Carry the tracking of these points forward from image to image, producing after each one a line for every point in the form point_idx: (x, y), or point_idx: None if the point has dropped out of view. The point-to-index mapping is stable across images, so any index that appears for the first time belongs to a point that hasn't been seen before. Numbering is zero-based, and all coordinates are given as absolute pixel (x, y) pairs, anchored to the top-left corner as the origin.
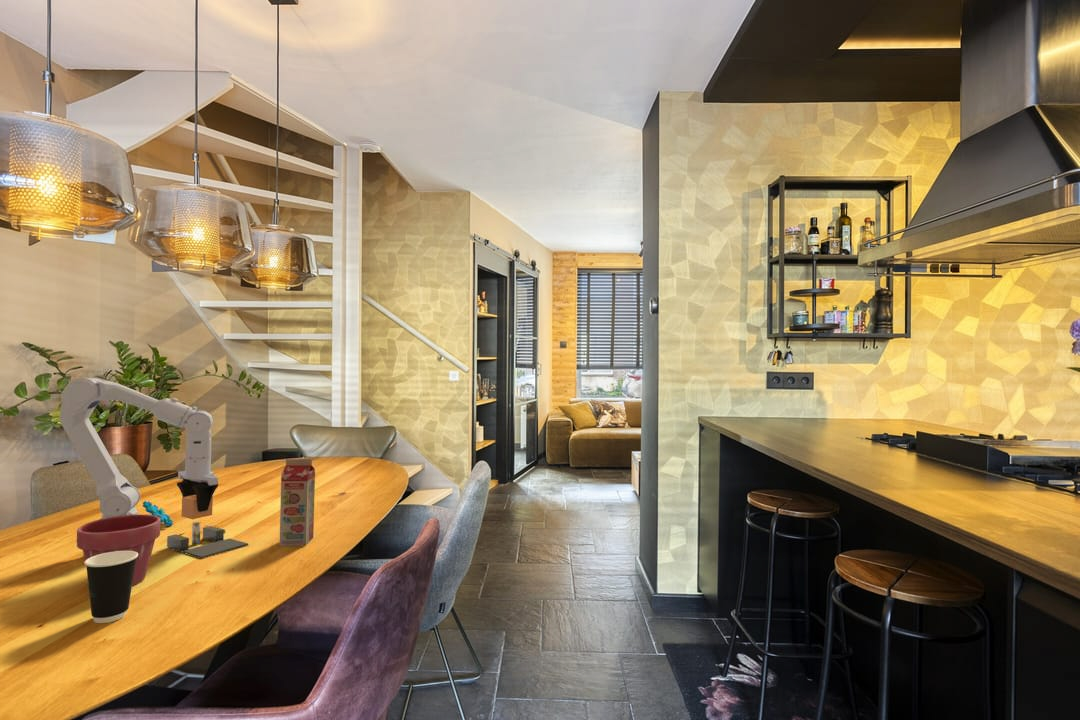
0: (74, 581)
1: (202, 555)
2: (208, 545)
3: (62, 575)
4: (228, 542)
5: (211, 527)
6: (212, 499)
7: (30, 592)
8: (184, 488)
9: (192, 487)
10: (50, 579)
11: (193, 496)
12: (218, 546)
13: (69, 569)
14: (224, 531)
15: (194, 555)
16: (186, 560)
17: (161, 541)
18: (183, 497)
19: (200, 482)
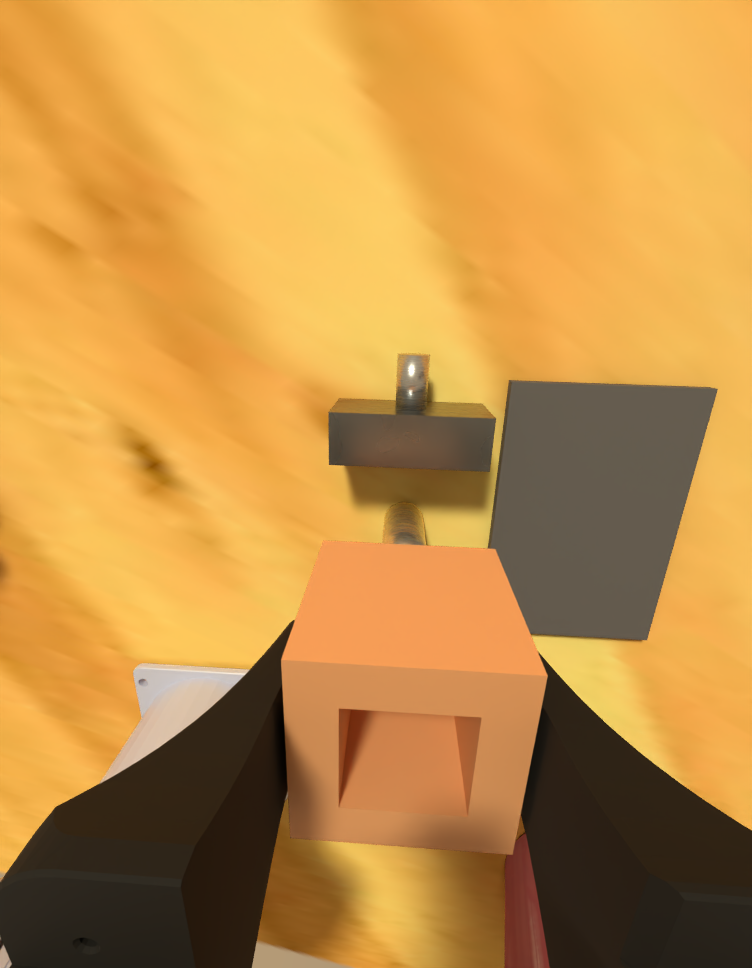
0: (435, 897)
1: (637, 629)
2: (520, 526)
3: (342, 887)
4: (579, 438)
5: (376, 434)
6: (534, 645)
7: (420, 958)
8: (254, 941)
9: (247, 860)
10: (351, 909)
11: (340, 765)
12: (588, 511)
13: (297, 860)
14: (428, 362)
15: (584, 633)
16: (593, 670)
17: (202, 570)
18: (316, 839)
19: (214, 840)
